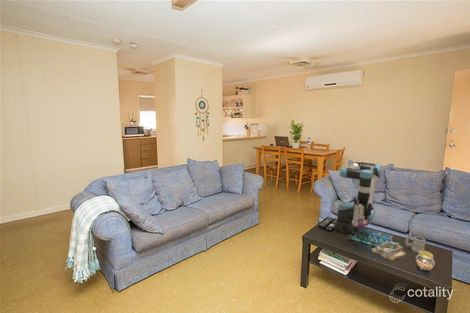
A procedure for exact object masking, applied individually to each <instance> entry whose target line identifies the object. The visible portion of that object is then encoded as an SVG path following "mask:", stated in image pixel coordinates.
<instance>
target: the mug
mask: <svg viewBox="0 0 470 313" xmlns="http://www.w3.org/2000/svg"><path fill="white" fill-rule="evenodd" d="M410 239H413V240H412V242H411V243H410V242H409V240H410ZM404 243H405V246H406V247H411V251H412V252H413V253H416V254H419V253H418V252H419V251H425V246H426V239H425V238H424V237H421V236H418V235H415V236H412V233H411V232H409V233H408V235H407V236H406V238H405V242H404Z"/></svg>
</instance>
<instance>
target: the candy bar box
mask: <svg viewBox="0 0 470 313" xmlns="http://www.w3.org/2000/svg"><path fill="white" fill-rule="evenodd" d="M367 204H368V203H367ZM367 208H368V206H367ZM363 215H365V214H364V205H363V204H359V203H358V202H357V204H355V205H354V215H353V220H352V224H353V227H356V228H357V229H358V228H359V229H360V228H362V227H365V226H369V224H368V222H369V216H368V219H367V220H366V224H363Z"/></svg>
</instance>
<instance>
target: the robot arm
mask: <svg viewBox="0 0 470 313" xmlns="http://www.w3.org/2000/svg"><path fill="white" fill-rule="evenodd" d="M381 169H382V168H381V165H380V164H379V163H371V162H362V161H361V162H359V161H358V162H357V161H356V162H352V163H350V164H349V165H348V167H341V168H340V171H339V176H340V178H344V179H345V178H346V179H354V180H358V182H359V183H358V191H357V196H356V197H355V196H354V197H353V202H350V201H349V202H347V201H345V202H340V203H338V206H337V216H336V221H335V223H334V225H333V229H334V230H335V231H336V232H338V233H340V234H347V235H350V234H353V233H354V230H355V229H354V226H353V215H354V205H355V204H358V203H359V204H363V205H364V214H365V215H363V224H366V220H367V219H368V216H369V222H368V225H371V224H372V223H373V221H374V218H375V213H376V209H374V206H373V205H374V203H373V200H374V195H375V188H376V182H377V181H378V180H379V179H380V178H381ZM367 203H368V204H367ZM367 206H368V208H367ZM352 232H353V233H352Z"/></svg>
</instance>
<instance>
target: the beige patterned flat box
mask: <svg viewBox="0 0 470 313" xmlns="http://www.w3.org/2000/svg"><path fill="white" fill-rule="evenodd" d="M388 245H392V246H393V247H394V248H396V249H388V248H386V247H387V246H388ZM403 248H404V247H403V246H401V245H398V244H396V243H394V242H393V241H387V242H385V243H382V244H379V245H376V246H375V247H373V248H371V252H373V253H375V254H377V255H379V256H381V257H382V258H384V259H387V261H388V260H389V262H390V261H391V262H393V261H396V260H398V259H399V258H403V257H405V256H406V255H407V253H406V252H405V251H403Z"/></svg>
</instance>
